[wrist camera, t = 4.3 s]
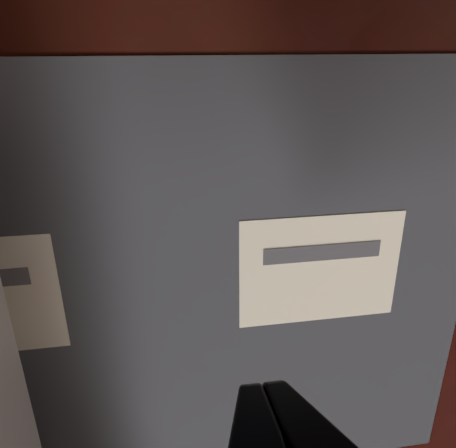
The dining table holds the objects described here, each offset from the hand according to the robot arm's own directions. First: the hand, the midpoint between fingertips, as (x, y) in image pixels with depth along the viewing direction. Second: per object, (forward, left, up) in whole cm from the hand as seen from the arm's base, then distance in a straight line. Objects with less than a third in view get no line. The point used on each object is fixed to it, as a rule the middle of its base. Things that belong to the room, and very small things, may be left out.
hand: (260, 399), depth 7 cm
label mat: (+2, +1, -5) cm, 5 cm away
